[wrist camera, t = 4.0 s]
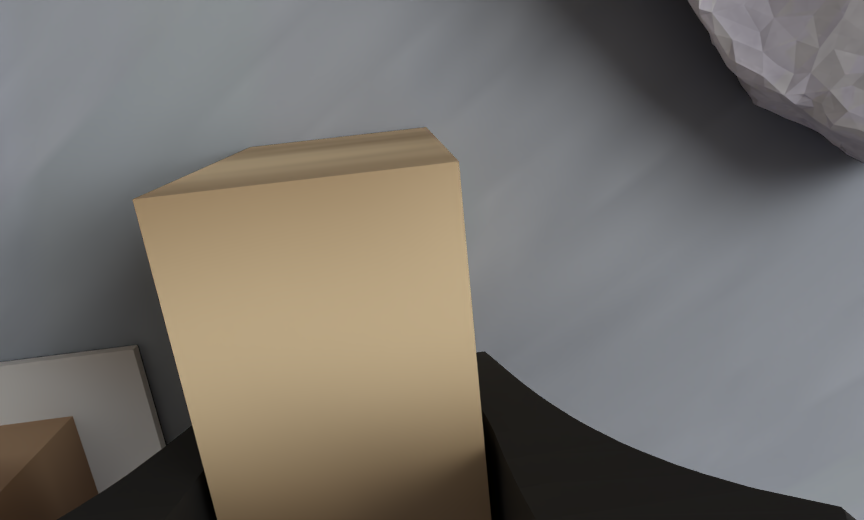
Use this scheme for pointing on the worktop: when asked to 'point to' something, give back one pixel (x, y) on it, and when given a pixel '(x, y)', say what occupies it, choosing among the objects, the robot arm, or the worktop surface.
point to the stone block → (797, 60)
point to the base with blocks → (72, 429)
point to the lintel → (325, 328)
